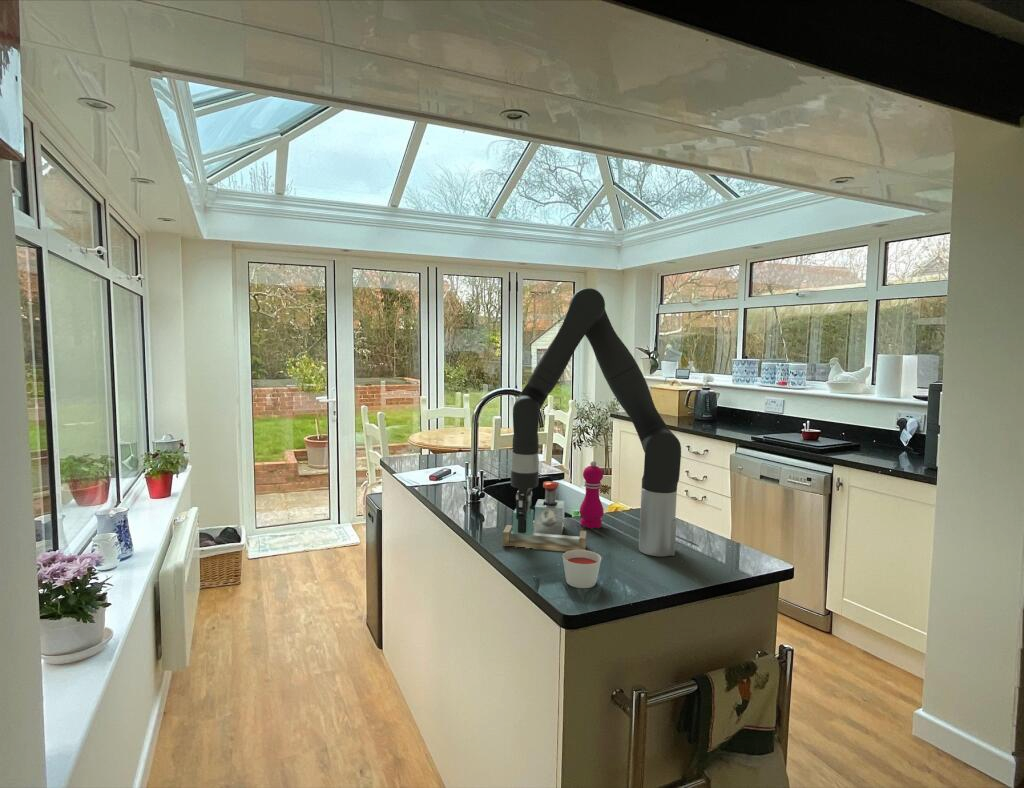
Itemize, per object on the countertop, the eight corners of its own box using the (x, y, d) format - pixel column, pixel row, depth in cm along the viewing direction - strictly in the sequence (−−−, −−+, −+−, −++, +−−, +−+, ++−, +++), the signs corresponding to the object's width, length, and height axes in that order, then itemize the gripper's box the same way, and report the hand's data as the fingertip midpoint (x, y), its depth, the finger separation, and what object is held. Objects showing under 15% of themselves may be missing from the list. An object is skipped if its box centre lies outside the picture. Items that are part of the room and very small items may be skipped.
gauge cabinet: (563, 526, 181) (564, 500, 180) (561, 536, 173) (562, 509, 172) (537, 524, 182) (538, 499, 181) (533, 534, 174) (534, 507, 173)
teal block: (533, 530, 167) (533, 509, 166) (531, 535, 163) (531, 513, 163) (515, 529, 168) (515, 508, 167) (512, 534, 164) (513, 512, 163)
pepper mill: (602, 530, 178) (605, 464, 176) (577, 528, 180) (580, 462, 178) (603, 523, 186) (606, 459, 183) (580, 521, 187) (582, 457, 185)
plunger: (557, 512, 179) (558, 481, 178) (556, 516, 175) (557, 485, 174) (543, 510, 180) (544, 480, 179) (541, 515, 175) (542, 484, 174)
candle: (608, 583, 142) (609, 557, 141) (583, 594, 135) (584, 567, 135) (578, 571, 148) (579, 546, 147) (553, 582, 142) (554, 556, 141)
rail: (585, 545, 166) (586, 531, 166) (584, 553, 160) (585, 538, 160) (506, 538, 170) (506, 524, 169) (502, 546, 164) (502, 532, 163)
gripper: (535, 475, 156) (533, 539, 158) (541, 463, 170) (539, 522, 172) (506, 474, 157) (505, 537, 159) (515, 462, 171) (513, 520, 173)
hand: (523, 529), depth 165 cm, fingers closed on teal block, 4 cm apart
